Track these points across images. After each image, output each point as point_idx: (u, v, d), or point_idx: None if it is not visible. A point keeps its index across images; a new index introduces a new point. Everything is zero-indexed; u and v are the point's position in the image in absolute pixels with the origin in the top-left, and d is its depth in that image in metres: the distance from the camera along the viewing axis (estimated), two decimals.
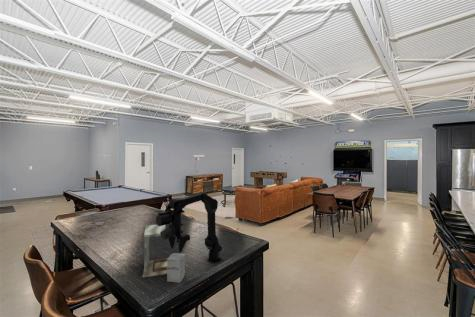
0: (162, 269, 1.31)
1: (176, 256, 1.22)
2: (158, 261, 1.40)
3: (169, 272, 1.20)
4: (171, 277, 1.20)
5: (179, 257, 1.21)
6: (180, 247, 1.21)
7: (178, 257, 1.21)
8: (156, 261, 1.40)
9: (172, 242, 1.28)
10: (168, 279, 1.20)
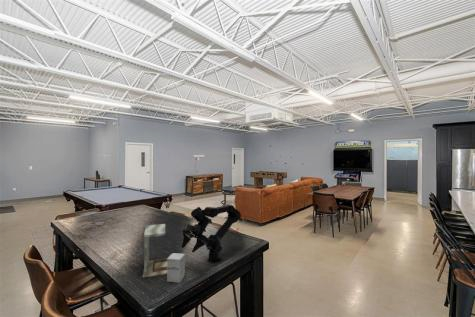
0: (162, 269, 1.31)
1: (176, 256, 1.22)
2: (158, 261, 1.40)
3: (169, 272, 1.20)
4: (171, 277, 1.20)
5: (179, 257, 1.21)
6: (196, 247, 1.26)
7: (178, 257, 1.21)
8: (156, 261, 1.40)
9: (185, 242, 1.34)
10: (168, 279, 1.20)
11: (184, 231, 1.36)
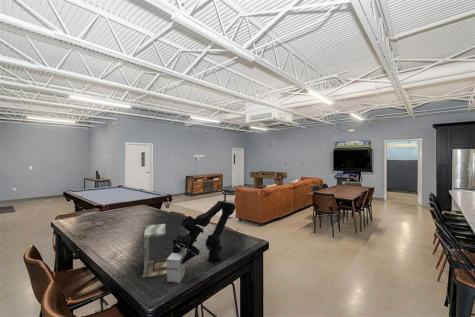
0: (162, 269, 1.31)
1: (175, 256, 1.22)
2: (158, 261, 1.40)
3: (169, 272, 1.20)
4: (171, 277, 1.20)
5: (178, 257, 1.21)
6: (185, 258, 1.21)
7: (177, 258, 1.20)
8: (156, 261, 1.40)
9: None
10: (168, 279, 1.20)
11: (174, 241, 1.31)
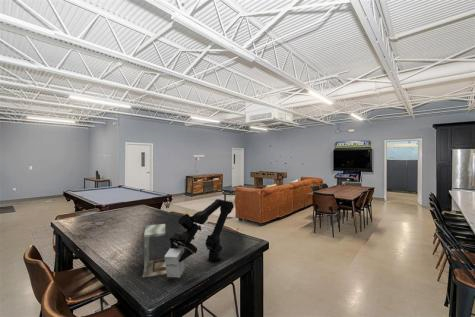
0: (162, 269, 1.31)
1: (173, 253, 1.20)
2: (158, 261, 1.40)
3: (168, 268, 1.19)
4: (170, 273, 1.20)
5: (176, 254, 1.19)
6: (183, 256, 1.20)
7: (175, 254, 1.19)
8: (156, 261, 1.40)
9: None
10: (168, 275, 1.20)
11: (171, 239, 1.29)
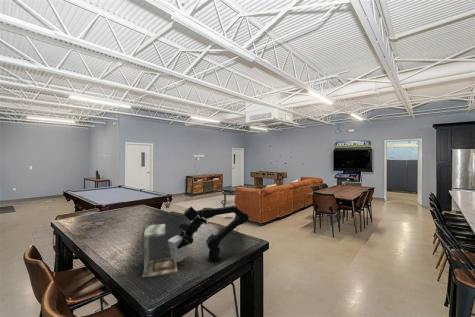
0: (162, 269, 1.31)
1: (175, 239, 1.36)
2: (158, 261, 1.40)
3: (171, 251, 1.37)
4: (172, 256, 1.37)
5: (175, 240, 1.35)
6: (180, 244, 1.33)
7: (174, 240, 1.35)
8: (156, 261, 1.40)
9: None
10: (171, 257, 1.38)
11: None
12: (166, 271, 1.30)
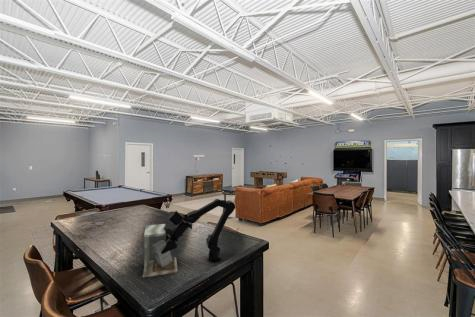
0: (162, 269, 1.31)
1: (159, 244, 1.34)
2: None
3: (155, 257, 1.35)
4: (157, 261, 1.35)
5: (159, 245, 1.32)
6: (164, 249, 1.31)
7: (158, 245, 1.32)
8: None
9: None
10: (156, 262, 1.36)
11: None
12: (166, 271, 1.30)
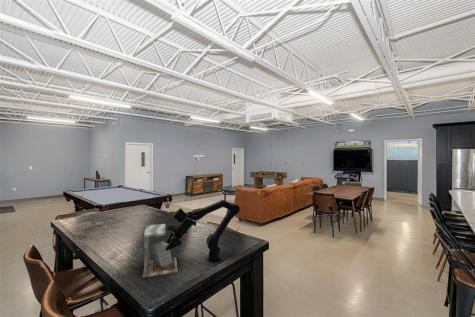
0: (162, 269, 1.31)
1: (159, 245, 1.34)
2: None
3: (155, 258, 1.35)
4: (157, 262, 1.35)
5: (159, 247, 1.32)
6: (169, 246, 1.32)
7: (158, 247, 1.32)
8: None
9: (170, 240, 1.42)
10: (156, 263, 1.36)
11: None
12: (166, 271, 1.30)
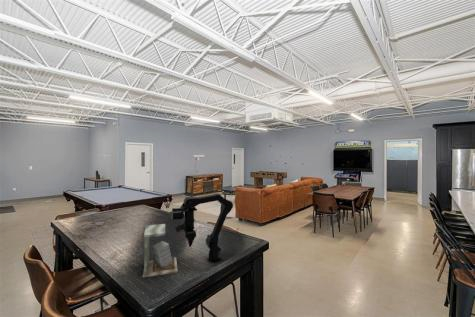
0: (162, 269, 1.31)
1: (159, 245, 1.34)
2: None
3: (155, 258, 1.35)
4: (157, 262, 1.35)
5: (159, 247, 1.32)
6: (189, 242, 1.33)
7: (158, 247, 1.32)
8: None
9: None
10: (156, 263, 1.36)
11: None
12: (166, 271, 1.30)
